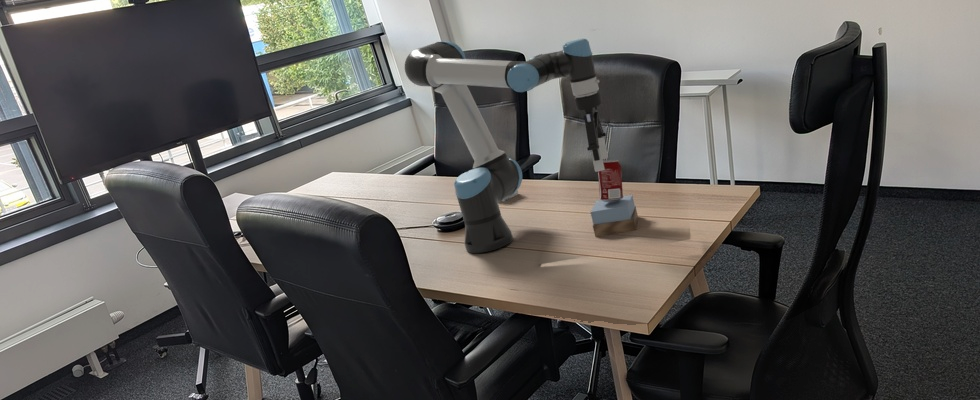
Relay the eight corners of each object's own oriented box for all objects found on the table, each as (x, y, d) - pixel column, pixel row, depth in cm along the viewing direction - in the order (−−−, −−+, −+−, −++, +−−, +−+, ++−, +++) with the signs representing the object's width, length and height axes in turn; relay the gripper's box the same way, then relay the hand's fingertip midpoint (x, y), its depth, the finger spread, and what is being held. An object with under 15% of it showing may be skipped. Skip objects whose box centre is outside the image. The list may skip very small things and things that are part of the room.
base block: (595, 238, 219) (592, 225, 219) (599, 225, 231) (596, 213, 230) (636, 231, 216) (633, 218, 215) (638, 218, 227) (635, 206, 226)
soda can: (624, 201, 217) (621, 160, 216) (601, 203, 218) (598, 162, 216) (621, 199, 224) (619, 159, 223) (599, 200, 224) (596, 160, 223)
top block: (593, 224, 219) (590, 212, 218) (599, 212, 229) (596, 200, 228) (630, 219, 215) (627, 206, 214) (635, 207, 225) (632, 194, 224)
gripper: (595, 98, 201) (611, 173, 206) (603, 84, 224) (617, 152, 229) (568, 104, 203) (584, 178, 208) (578, 89, 226) (593, 156, 231)
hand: (601, 164), depth 219 cm, fingers open, 13 cm apart
